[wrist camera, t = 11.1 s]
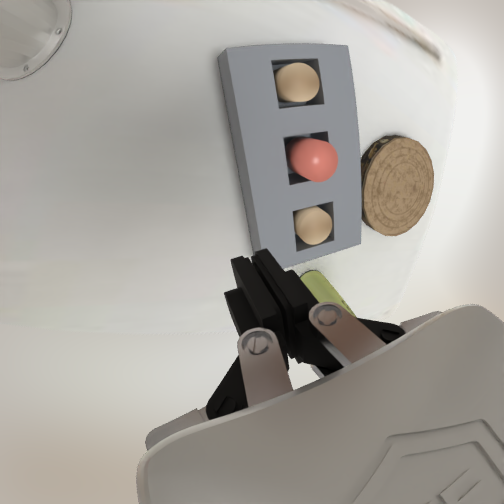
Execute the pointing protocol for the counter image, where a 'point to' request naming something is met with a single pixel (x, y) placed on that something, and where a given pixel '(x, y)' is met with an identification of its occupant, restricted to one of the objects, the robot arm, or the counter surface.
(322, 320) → the robot arm
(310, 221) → the knob
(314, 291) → the tube
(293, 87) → the knob
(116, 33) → the counter surface
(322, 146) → the knob red
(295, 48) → the knob panel
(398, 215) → the wood log slice
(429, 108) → the counter surface
